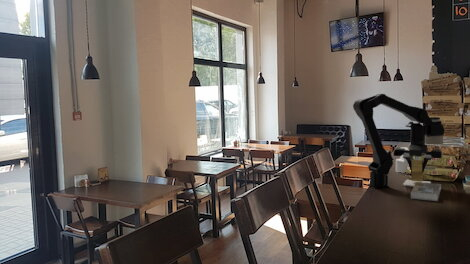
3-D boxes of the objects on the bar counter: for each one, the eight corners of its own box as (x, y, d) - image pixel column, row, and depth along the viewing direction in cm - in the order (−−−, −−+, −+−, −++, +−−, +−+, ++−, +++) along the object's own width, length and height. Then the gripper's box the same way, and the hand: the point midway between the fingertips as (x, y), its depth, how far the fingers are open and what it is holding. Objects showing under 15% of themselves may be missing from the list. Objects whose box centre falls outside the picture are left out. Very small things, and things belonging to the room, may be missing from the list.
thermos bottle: (421, 172, 185) (422, 117, 183) (437, 172, 184) (439, 116, 182) (427, 176, 177) (429, 118, 175) (445, 175, 177) (446, 117, 174)
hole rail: (437, 201, 137) (437, 194, 137) (410, 198, 142) (410, 191, 141) (440, 190, 152) (440, 184, 152) (416, 187, 157) (416, 181, 156)
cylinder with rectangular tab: (417, 173, 184) (417, 149, 182) (397, 173, 185) (398, 149, 184) (412, 169, 192) (412, 147, 191) (393, 169, 194) (394, 147, 193)
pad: (428, 188, 156) (428, 186, 155) (403, 185, 161) (403, 184, 161) (430, 182, 164) (430, 181, 164) (406, 180, 169) (406, 179, 169)
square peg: (421, 181, 160) (422, 161, 159) (411, 180, 162) (411, 160, 161) (422, 179, 163) (423, 159, 162) (412, 179, 165) (413, 159, 164)
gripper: (391, 138, 159) (391, 174, 160) (441, 140, 149) (440, 178, 150) (395, 135, 168) (395, 169, 169) (442, 137, 158) (441, 173, 159)
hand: (417, 172), depth 162 cm, fingers closed on square peg, 4 cm apart
